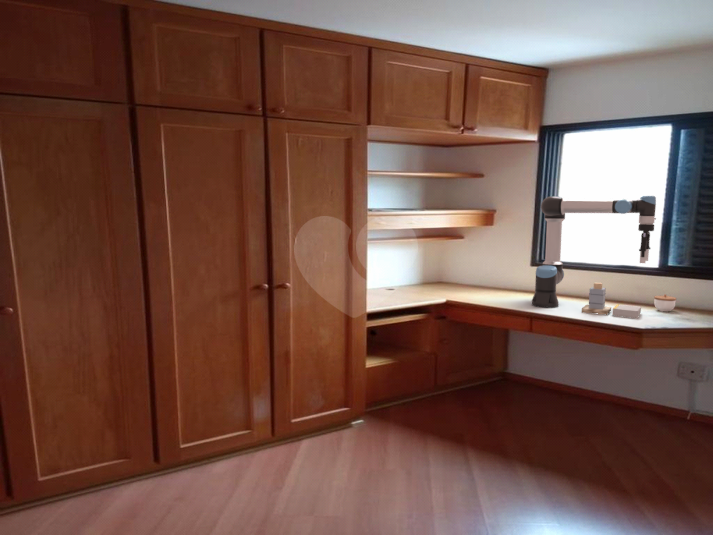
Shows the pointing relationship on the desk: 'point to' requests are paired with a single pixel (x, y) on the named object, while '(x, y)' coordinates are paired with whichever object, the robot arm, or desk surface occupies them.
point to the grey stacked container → (597, 298)
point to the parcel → (597, 285)
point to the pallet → (596, 310)
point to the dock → (626, 311)
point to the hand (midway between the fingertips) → (643, 261)
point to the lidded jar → (664, 302)
